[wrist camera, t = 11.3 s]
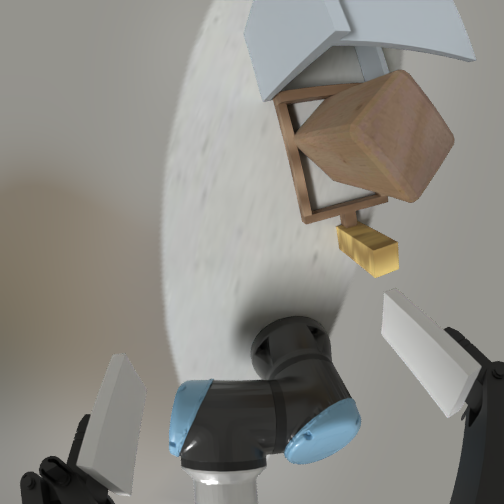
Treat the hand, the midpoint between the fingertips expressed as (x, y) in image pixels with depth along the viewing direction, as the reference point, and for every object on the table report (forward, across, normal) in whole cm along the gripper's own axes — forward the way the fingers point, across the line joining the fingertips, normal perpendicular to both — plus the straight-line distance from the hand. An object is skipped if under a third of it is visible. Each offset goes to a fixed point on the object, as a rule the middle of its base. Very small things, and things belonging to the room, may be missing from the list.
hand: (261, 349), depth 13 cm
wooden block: (+31, -18, -8) cm, 37 cm away
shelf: (+31, -18, -22) cm, 42 cm away
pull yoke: (+31, -18, -3) cm, 36 cm away
